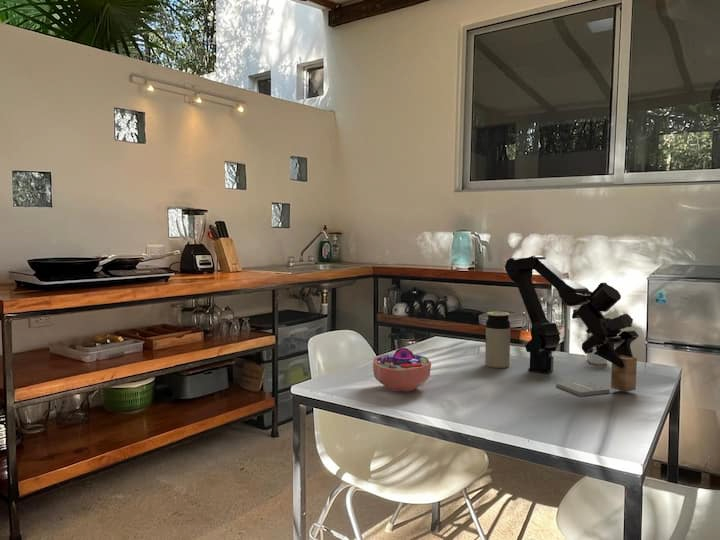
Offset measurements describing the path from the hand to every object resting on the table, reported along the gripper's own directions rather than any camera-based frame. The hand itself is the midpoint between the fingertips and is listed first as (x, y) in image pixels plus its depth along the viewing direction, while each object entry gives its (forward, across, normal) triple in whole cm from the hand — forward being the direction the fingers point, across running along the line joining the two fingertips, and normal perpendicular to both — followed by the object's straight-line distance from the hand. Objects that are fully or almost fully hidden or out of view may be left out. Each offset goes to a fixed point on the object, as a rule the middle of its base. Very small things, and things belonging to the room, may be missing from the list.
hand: (628, 366), depth 153 cm
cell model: (-19, -52, +30) cm, 63 cm away
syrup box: (-15, +27, +27) cm, 41 cm away
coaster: (-1, -8, +12) cm, 14 cm away
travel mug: (-25, -8, +36) cm, 44 cm away
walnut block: (+4, 0, +6) cm, 7 cm away
